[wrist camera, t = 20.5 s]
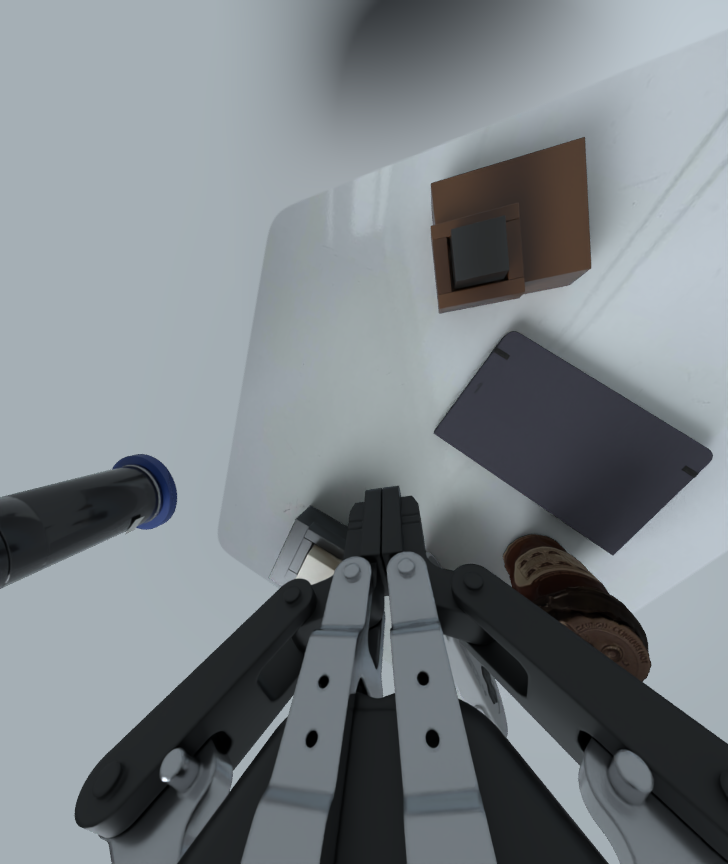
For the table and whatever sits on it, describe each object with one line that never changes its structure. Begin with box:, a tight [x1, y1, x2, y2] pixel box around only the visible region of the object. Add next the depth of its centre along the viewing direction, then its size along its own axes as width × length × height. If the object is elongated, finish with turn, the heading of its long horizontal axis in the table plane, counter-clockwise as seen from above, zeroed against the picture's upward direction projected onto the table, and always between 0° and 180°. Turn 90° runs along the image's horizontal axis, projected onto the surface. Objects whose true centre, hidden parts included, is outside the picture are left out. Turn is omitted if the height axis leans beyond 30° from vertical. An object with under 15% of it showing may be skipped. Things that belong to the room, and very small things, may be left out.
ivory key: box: [296, 544, 342, 585], centre depth 32 cm, size 4×4×2 cm
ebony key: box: [450, 215, 509, 289], centre depth 24 cm, size 4×4×2 cm
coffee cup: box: [503, 534, 651, 682], centre depth 27 cm, size 9×8×13 cm
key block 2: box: [431, 137, 591, 313], centre depth 27 cm, size 12×11×6 cm
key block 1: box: [269, 506, 348, 586], centre depth 36 cm, size 11×10×6 cm
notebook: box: [434, 331, 713, 555], centre depth 30 cm, size 13×2×21 cm
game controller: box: [426, 552, 508, 737], centre depth 32 cm, size 20×2×8 cm, turn 27°
